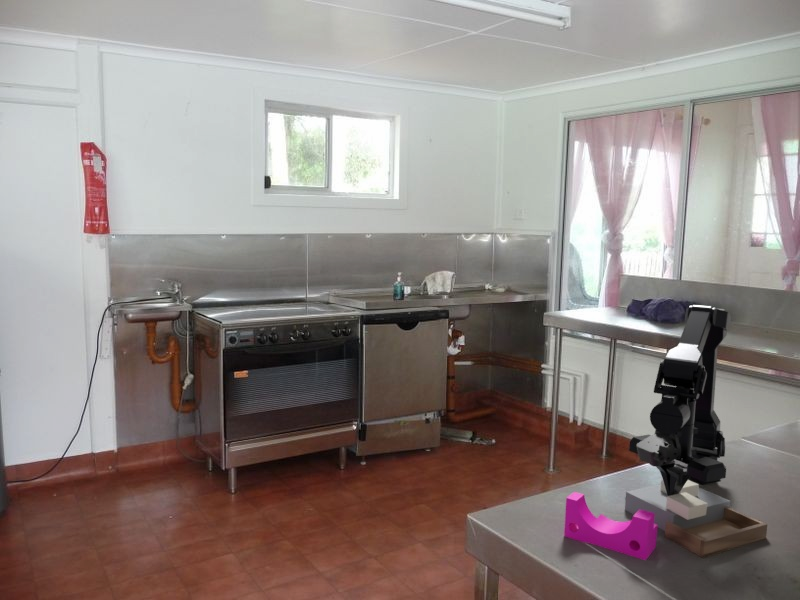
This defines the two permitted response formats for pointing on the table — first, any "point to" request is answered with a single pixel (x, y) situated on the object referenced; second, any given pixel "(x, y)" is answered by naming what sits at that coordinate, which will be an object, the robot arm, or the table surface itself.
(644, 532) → the toy block
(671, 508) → the tile
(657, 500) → the board
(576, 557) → the table surface
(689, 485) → the tile
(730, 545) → the box
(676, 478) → the robot arm
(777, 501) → the table surface
